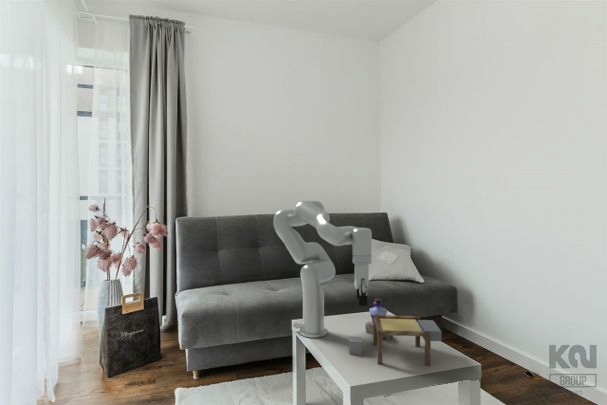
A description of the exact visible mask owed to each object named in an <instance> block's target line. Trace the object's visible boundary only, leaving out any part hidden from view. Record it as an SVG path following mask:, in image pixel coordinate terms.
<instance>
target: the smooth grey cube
mask: <svg viewBox="0 0 607 405" xmlns="http://www.w3.org/2000/svg"><path fill="white" fill-rule="evenodd" d="M362 339H363V338H362V336H348V354H349V355H361V356H362V355H363V340H362Z"/></svg>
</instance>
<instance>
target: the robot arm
mask: <svg viewBox="0 0 607 405" xmlns="http://www.w3.org/2000/svg"><path fill="white" fill-rule="evenodd" d="M330 218H331V216H330V214H329V213H328V212H327V211H326V210H325V206H324V204H323V203H322V202H321V201H319V200H302V201H299V202H298V203H297V204H296V205H295V207H294V208H286V209H280V210H278V211H277V212H276V213H275V214H274V216H273V220H272V221H273V223H272V224H273V228H274V231H275V232H276V235H277V236H278V237H279V239H280V240H281V241H282V243H283V244H284V246H285V247H286V249H287V251H288V252H289V254H290V256H291V257H292V259H293V260H294V262H295V263H296V264H298V265H303V266H302V267H301V269H300V274H299V275H300V279H301V280H300V281H301V287H302V321H300V322H293V323H292V326H293V328H295V329H299V334H300V336H303V337H305V338H312V339H314V338H315V339H316V338H317V339H319V338H322V337H325V336H326V335H328V329H327V328H326V327H325V292H324V289H323V287H322V285H321V283H324V282H327V281H328V282H329V281H331V280H333V278H334V277H335V275H336V268H335V264H334V262H333V261H332V260H331V258H330V257H329V255H328V254H327V252H326V251H325V248H323V246H322V245H321V244H319V243H318V242H315V241H311V242H306V241H305V240H304V239H303V237H302V236H301V234H300V233H299V232H298V231H297V230H296V229H294V228H293V227H301V226H306V225H307V224H309V225H310V226H312V228H313V227H314V228H315V229H316V232H317V234H318V236H319V237H320V238H321V239H322V240H324V241H325V242H326V243H328V244H330V245H332V246H336V247H341V246H346V245H347V246H349V245H351V246H352V250H351V252H352V255H351V256H352V258H351V259H352V264H354V270H353V271H354V276H353V277H354V279H353V284H354V287H355V289H356V299H358V305H359V307H360V306H361V307H367V306H368V289H369V282H370V281H369V278H370V277H369V273H370V272H369V269H370V268H369V265H371V264H372V262H373V261H372V255H373V254H372V250H373V249H372V248H373V246H372V241H373V240H372V238H373V237H372V235H373V234H372V233H373V232H372V229H371V228H368V227H356V226H353V225H346V226H344V225H343V226H335V225H334V224H331V222H330V220H331V219H330Z"/></svg>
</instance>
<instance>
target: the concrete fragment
mask: <svg viewBox="0 0 607 405" xmlns="http://www.w3.org/2000/svg"><path fill="white" fill-rule="evenodd" d="M380 326H381V323H380ZM381 329H382V326H381ZM365 332H366V334H369V335H373V322H372V321H370V320H369V321H367V322H366V323H365ZM383 338H384V339H385V340H393V339H394V335H382V339H383Z"/></svg>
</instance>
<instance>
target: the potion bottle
mask: <svg viewBox="0 0 607 405" xmlns="http://www.w3.org/2000/svg"><path fill="white" fill-rule="evenodd" d="M382 306H384V304H383V301H382V299H381V298H375V299H374V300H373V307H371V308H369V315H370V317H371V322H373V315H387V313H388V311H387V308H383V307H382ZM379 322H380V319H379Z"/></svg>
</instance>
